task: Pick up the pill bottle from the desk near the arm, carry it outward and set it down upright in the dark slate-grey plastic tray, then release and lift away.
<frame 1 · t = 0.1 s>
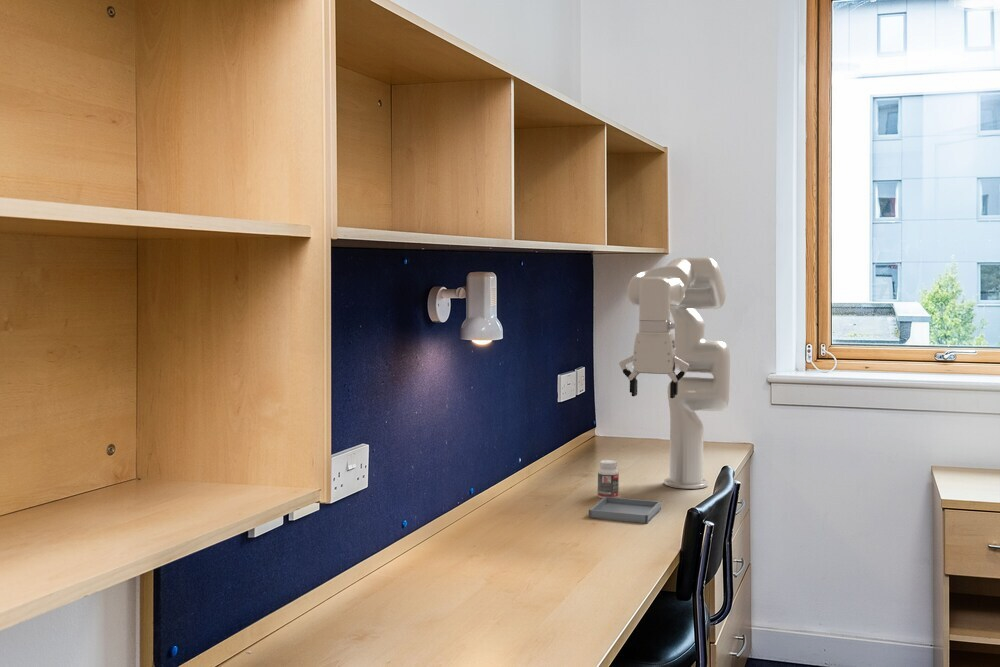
hand: (653, 396, 240), 31 cm above the table, fingers open, 9 cm apart
pill bottle: (608, 497, 268), on the table
slate tray: (625, 513, 249), on the table
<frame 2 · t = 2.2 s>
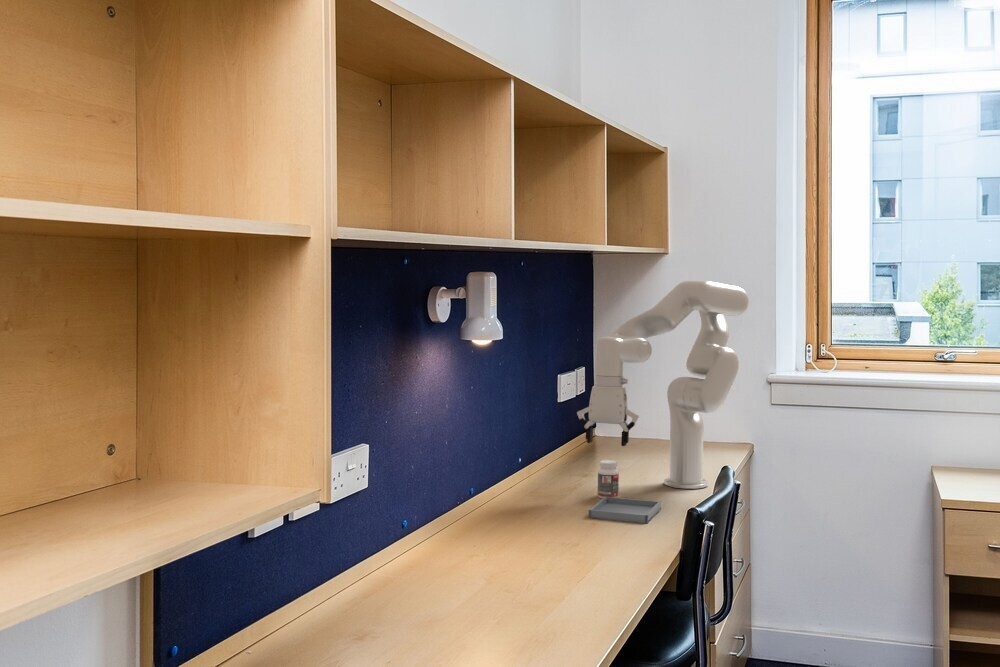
hand: (606, 444, 266), 15 cm above the table, fingers open, 9 cm apart
nothing on the table moved.
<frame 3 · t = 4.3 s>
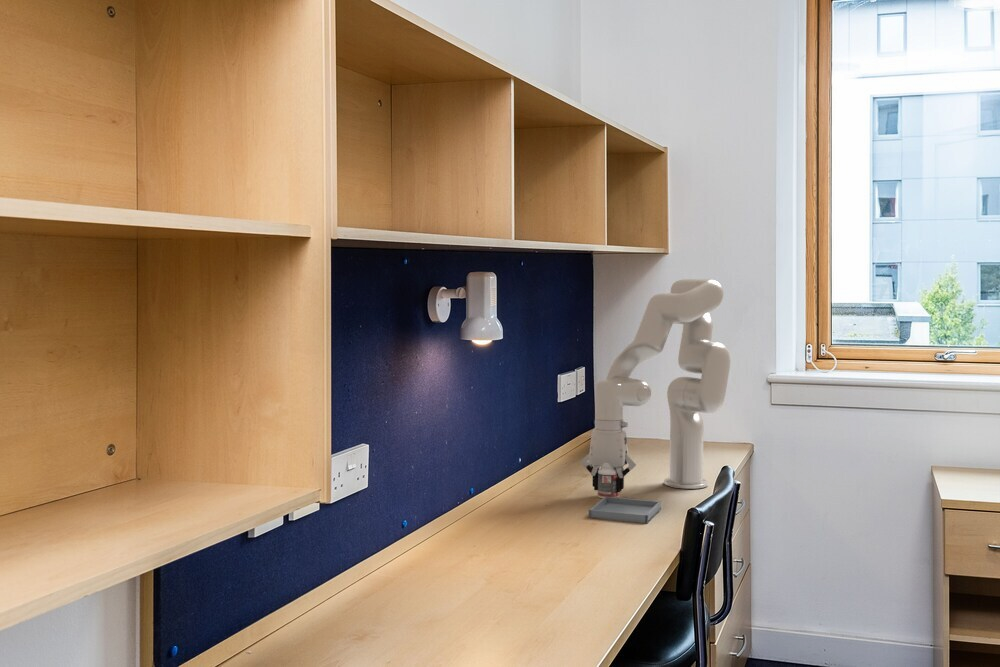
hand: (608, 489, 268), 2 cm above the table, fingers closed on pill bottle, 5 cm apart
pill bottle: (607, 497, 268), on the table, touching gripper
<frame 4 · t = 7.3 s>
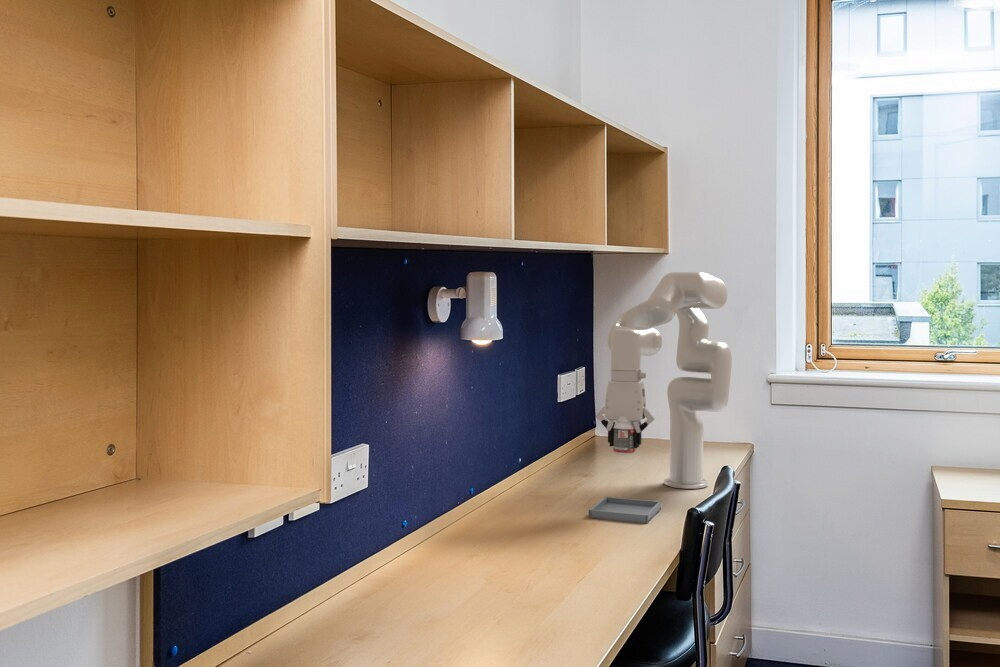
hand: (624, 445, 250), 17 cm above the table, fingers closed on pill bottle, 5 cm apart
pill bottle: (624, 454, 250), point 15 cm above the table, touching gripper
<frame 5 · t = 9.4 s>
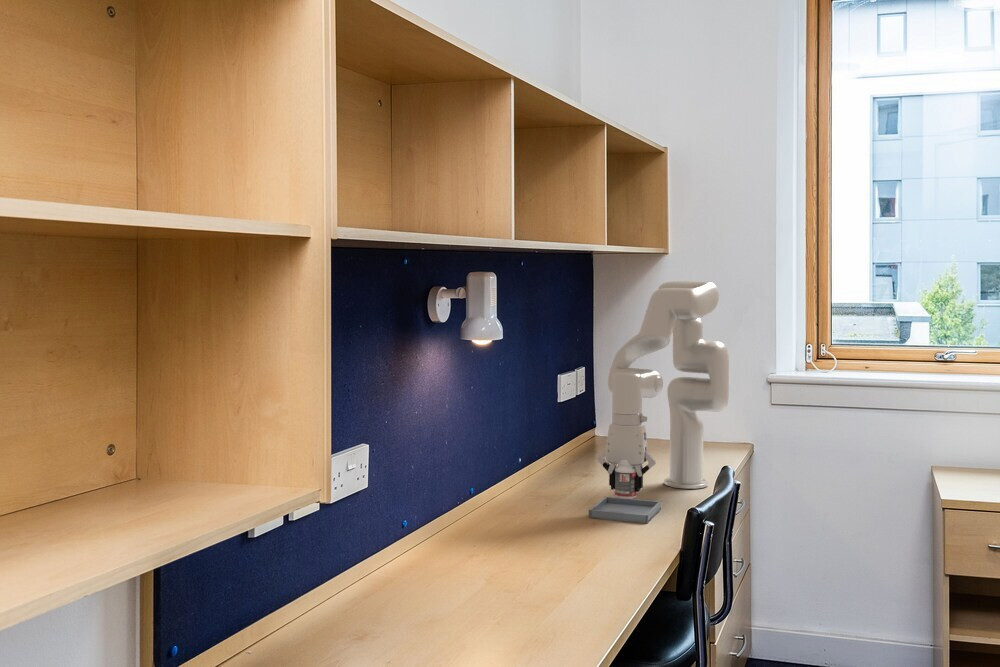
hand: (625, 489, 249), 6 cm above the table, fingers closed on pill bottle, 5 cm apart
pill bottle: (625, 497, 249), point 4 cm above the table, touching gripper
when the fingers open (4 cm above the table, at t = 10.7 s): pill bottle drops 2 cm, resting on slate tray.
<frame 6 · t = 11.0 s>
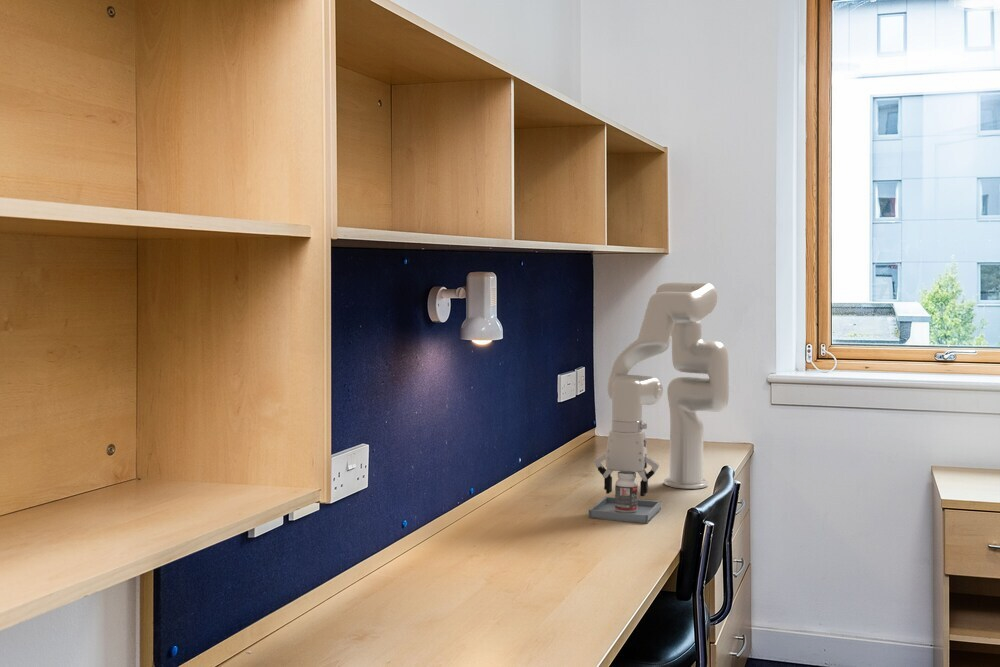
hand: (625, 493, 249), 5 cm above the table, fingers open, 8 cm apart
pill bottle: (625, 511, 250), resting on slate tray
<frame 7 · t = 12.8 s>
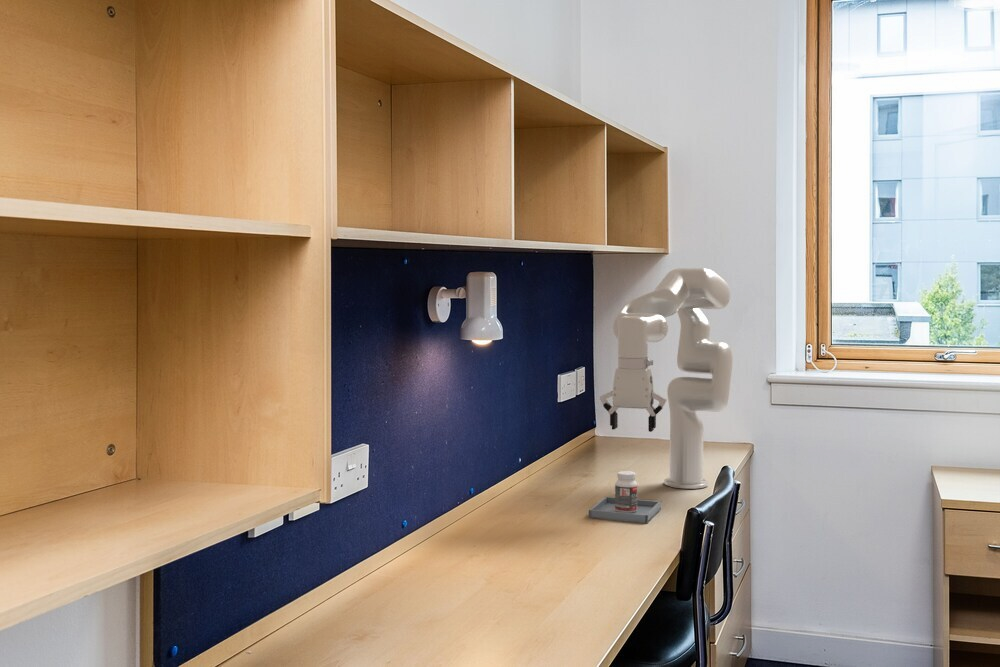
hand: (632, 429, 251), 21 cm above the table, fingers open, 9 cm apart
nothing on the table moved.
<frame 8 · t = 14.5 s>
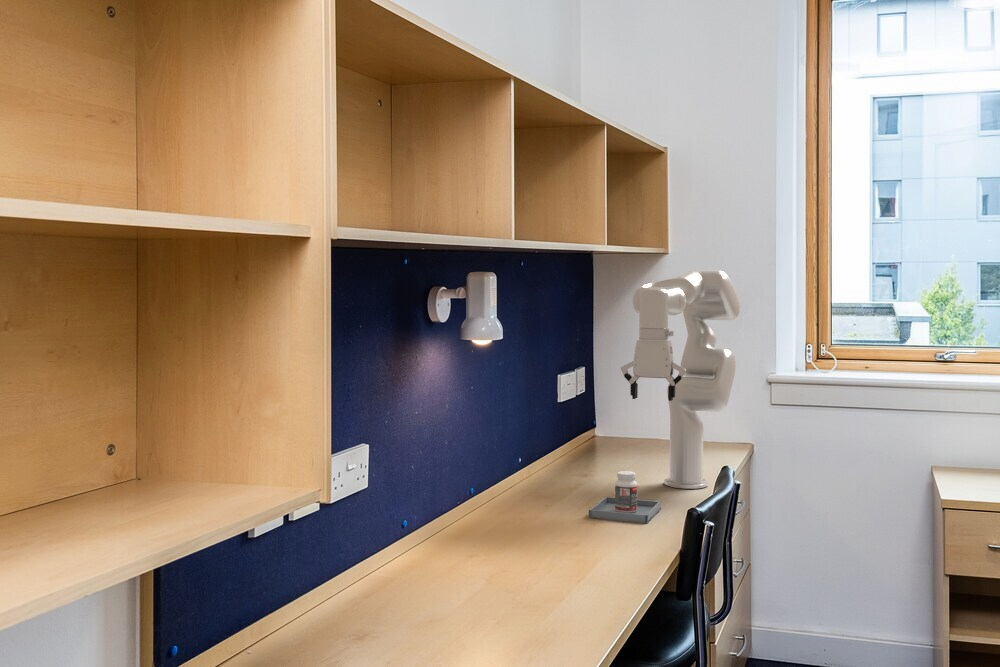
hand: (652, 399, 257), 28 cm above the table, fingers open, 9 cm apart
nothing on the table moved.
at the end: pill bottle inside the target area on the slate tray (0.2 cm from its centre), point 0.4 cm above the slate tray's base; pill bottle tilted 0°; the gripper is holding nothing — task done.
